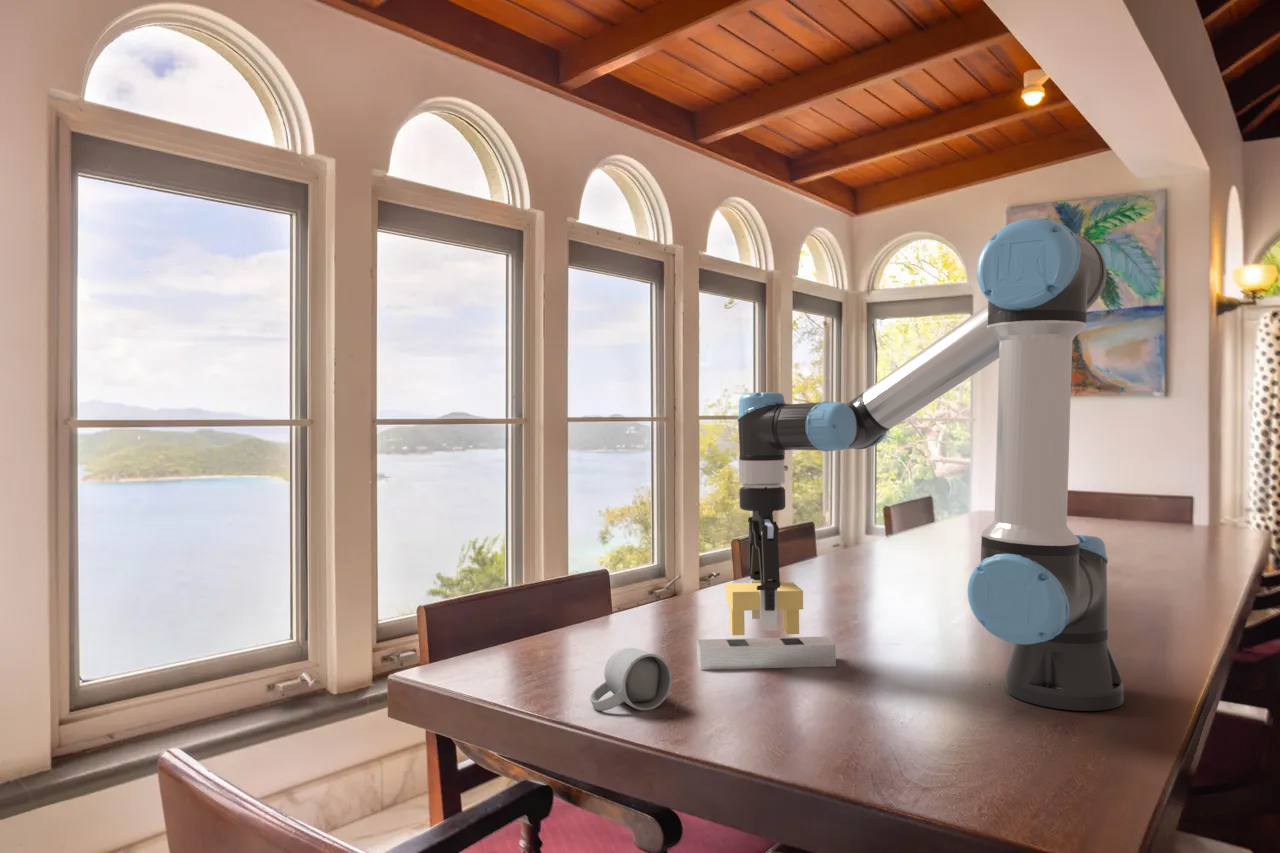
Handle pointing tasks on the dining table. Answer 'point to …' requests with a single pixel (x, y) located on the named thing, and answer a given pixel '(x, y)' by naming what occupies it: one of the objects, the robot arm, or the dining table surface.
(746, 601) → the yellow bridge
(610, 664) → the ceramic mug
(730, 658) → the rail
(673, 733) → the dining table surface
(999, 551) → the robot arm
